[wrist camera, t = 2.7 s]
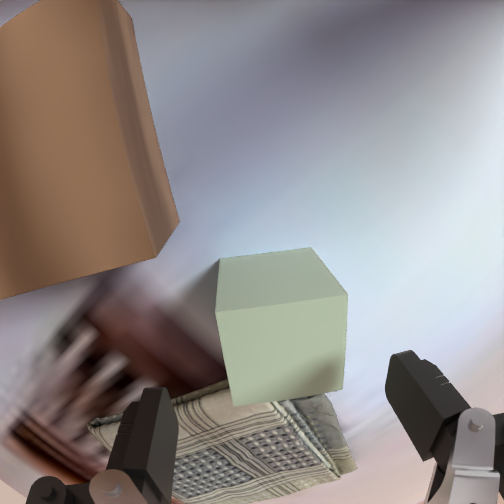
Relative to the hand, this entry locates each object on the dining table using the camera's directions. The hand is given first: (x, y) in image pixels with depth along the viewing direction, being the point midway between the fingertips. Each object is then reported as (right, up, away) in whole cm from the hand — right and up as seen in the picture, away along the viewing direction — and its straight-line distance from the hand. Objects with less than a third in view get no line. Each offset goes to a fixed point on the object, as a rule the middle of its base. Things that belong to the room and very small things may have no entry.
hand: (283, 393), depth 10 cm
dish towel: (-2, -12, +13) cm, 18 cm away
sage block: (0, +3, +8) cm, 8 cm away
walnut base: (-12, +11, +5) cm, 17 cm away
